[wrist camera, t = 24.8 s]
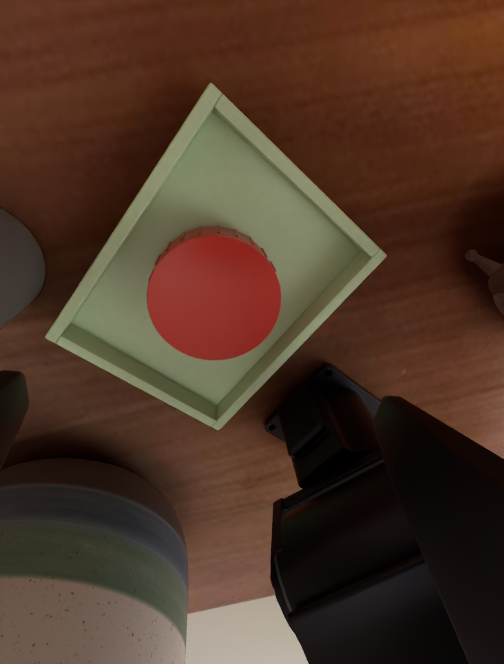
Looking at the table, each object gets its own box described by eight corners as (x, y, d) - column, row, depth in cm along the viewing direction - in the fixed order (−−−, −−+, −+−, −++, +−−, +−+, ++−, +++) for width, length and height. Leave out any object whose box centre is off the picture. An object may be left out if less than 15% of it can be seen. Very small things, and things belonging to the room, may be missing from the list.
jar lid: (127, 294, 19) (117, 311, 17) (206, 195, 17) (205, 201, 15) (222, 360, 21) (223, 382, 19) (299, 281, 19) (310, 296, 17)
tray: (371, 246, 19) (387, 255, 18) (218, 410, 24) (218, 431, 22) (210, 89, 15) (210, 80, 14) (58, 321, 19) (43, 338, 18)
